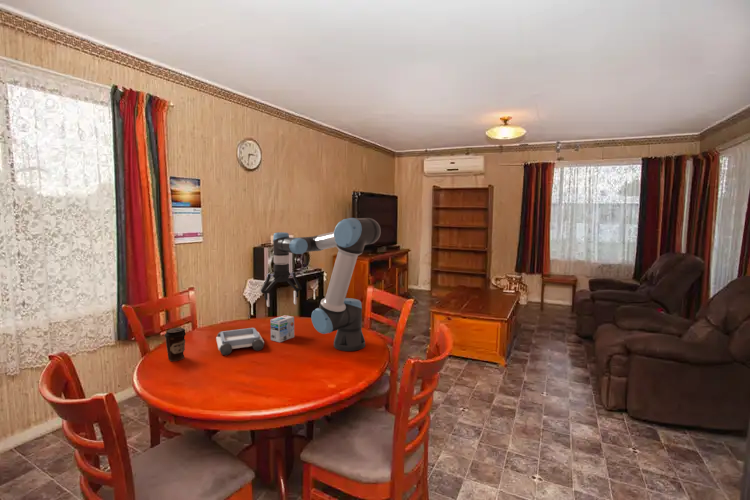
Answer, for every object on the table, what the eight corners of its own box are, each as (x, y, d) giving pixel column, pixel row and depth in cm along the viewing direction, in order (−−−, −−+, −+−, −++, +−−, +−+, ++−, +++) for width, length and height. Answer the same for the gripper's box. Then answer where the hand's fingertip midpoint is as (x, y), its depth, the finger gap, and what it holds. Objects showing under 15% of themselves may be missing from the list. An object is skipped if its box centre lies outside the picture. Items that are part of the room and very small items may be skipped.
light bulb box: (279, 342, 192) (279, 321, 191) (270, 340, 196) (269, 319, 195) (295, 336, 201) (294, 316, 200) (285, 334, 205) (285, 314, 204)
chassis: (264, 349, 182) (264, 338, 182) (219, 356, 174) (218, 344, 173) (257, 336, 201) (257, 325, 201) (216, 341, 193) (215, 330, 192)
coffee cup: (191, 357, 173) (190, 328, 171) (175, 363, 165) (173, 334, 164) (178, 354, 176) (176, 326, 175) (161, 360, 169) (159, 331, 167)
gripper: (303, 261, 203) (304, 301, 206) (254, 263, 193) (255, 305, 195) (307, 263, 196) (307, 304, 199) (256, 265, 186) (257, 309, 188)
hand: (281, 305), depth 197 cm, fingers open, 13 cm apart
